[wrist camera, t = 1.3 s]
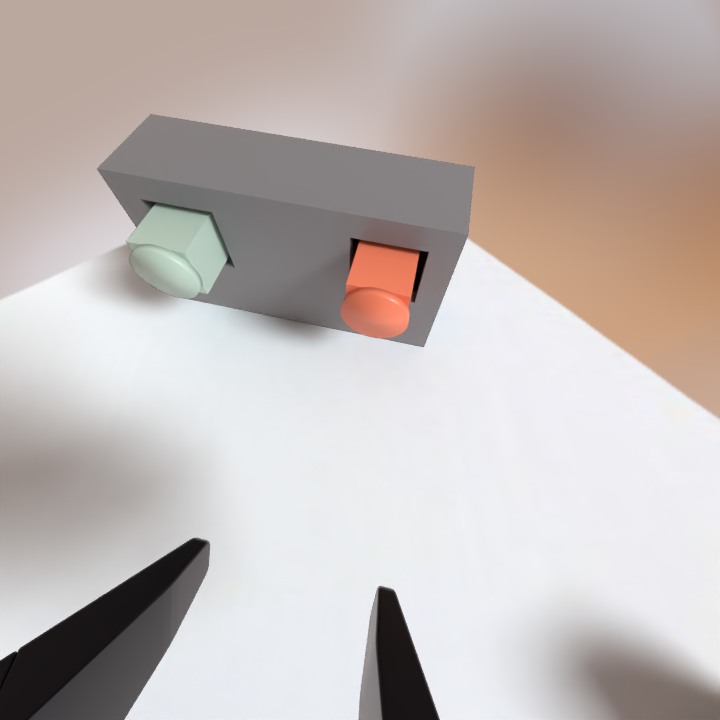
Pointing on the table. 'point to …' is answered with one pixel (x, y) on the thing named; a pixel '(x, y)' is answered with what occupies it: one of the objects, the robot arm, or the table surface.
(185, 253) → the button green
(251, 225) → the control box
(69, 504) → the table surface
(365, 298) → the button red
